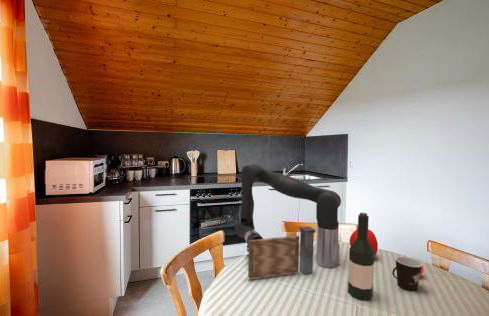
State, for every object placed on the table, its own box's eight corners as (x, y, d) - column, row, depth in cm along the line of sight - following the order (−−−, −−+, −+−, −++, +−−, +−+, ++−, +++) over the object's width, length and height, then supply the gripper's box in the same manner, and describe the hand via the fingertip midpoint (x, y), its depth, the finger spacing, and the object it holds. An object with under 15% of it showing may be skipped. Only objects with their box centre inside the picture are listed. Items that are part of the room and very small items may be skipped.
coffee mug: (412, 281, 101) (413, 257, 101) (425, 294, 93) (427, 267, 92) (382, 279, 102) (383, 255, 102) (392, 291, 94) (394, 265, 93)
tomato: (380, 257, 123) (382, 228, 122) (372, 264, 115) (373, 234, 114) (354, 249, 132) (355, 222, 131) (345, 255, 124) (346, 227, 123)
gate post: (307, 268, 110) (309, 226, 109) (313, 274, 106) (315, 230, 104) (298, 270, 109) (299, 227, 108) (303, 275, 104) (304, 230, 103)
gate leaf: (296, 270, 107) (297, 235, 106) (298, 272, 105) (299, 237, 104) (248, 276, 101) (248, 240, 100) (249, 278, 99) (250, 241, 99)
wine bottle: (362, 303, 86) (366, 218, 85) (342, 290, 94) (346, 211, 92) (377, 297, 90) (381, 215, 89) (358, 285, 98) (361, 209, 96)
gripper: (241, 233, 121) (251, 248, 104) (266, 231, 124) (281, 245, 108) (240, 248, 121) (251, 265, 104) (266, 246, 125) (280, 262, 108)
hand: (266, 255), depth 106 cm, fingers closed
